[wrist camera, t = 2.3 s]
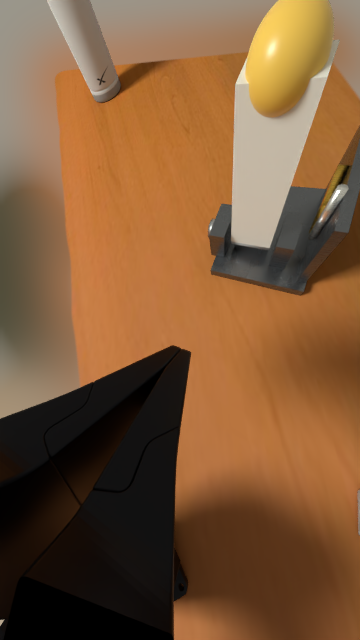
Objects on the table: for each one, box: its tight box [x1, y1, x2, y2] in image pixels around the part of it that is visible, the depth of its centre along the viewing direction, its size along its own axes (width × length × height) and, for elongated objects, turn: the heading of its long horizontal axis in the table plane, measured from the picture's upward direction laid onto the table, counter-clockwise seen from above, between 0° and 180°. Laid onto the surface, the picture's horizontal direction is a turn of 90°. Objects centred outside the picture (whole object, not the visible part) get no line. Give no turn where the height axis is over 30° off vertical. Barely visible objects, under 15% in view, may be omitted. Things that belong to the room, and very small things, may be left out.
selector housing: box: [208, 126, 360, 295], centre depth 19 cm, size 13×11×9 cm
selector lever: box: [231, 0, 340, 250], centre depth 14 cm, size 4×4×15 cm
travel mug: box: [47, 0, 121, 102], centre depth 31 cm, size 6×7×20 cm
